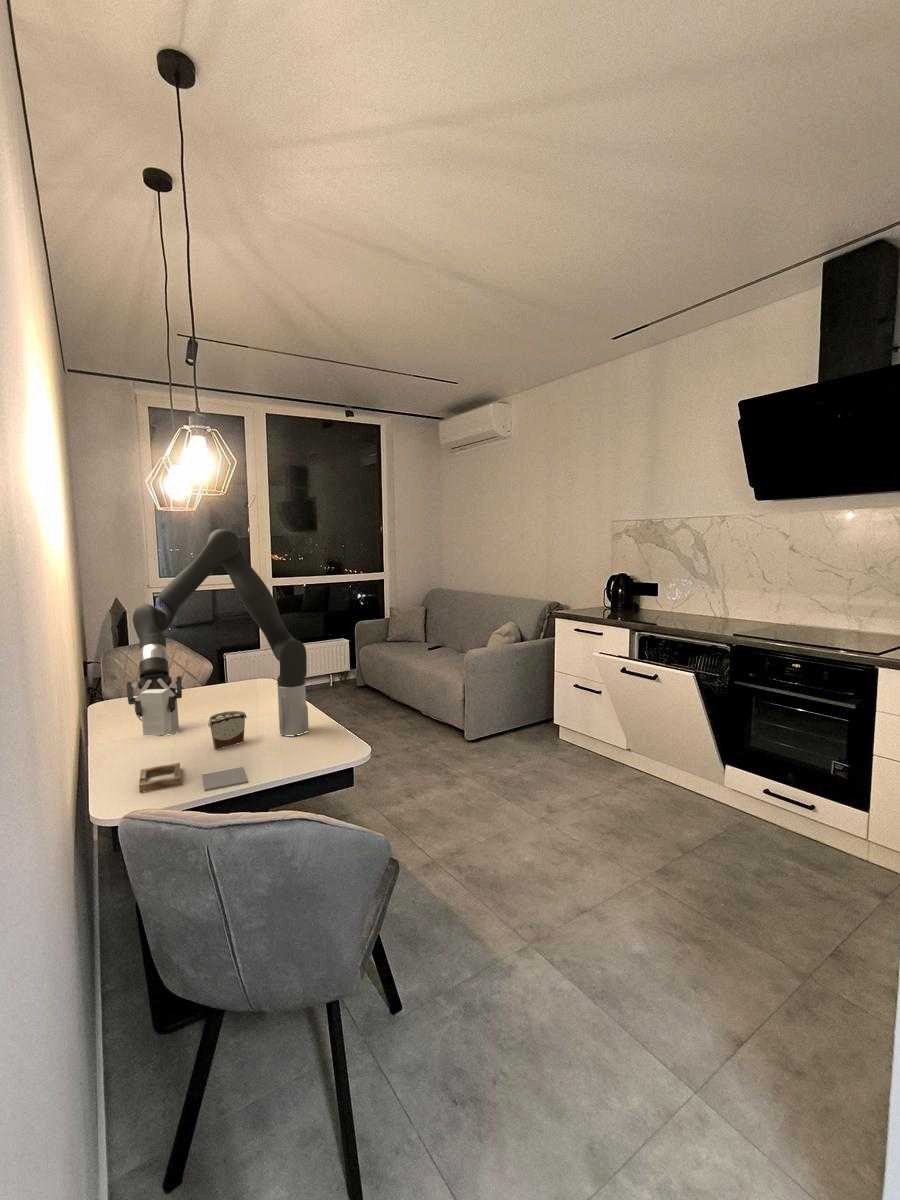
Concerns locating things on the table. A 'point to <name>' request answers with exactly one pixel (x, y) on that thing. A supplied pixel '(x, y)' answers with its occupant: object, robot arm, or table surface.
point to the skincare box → (155, 711)
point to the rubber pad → (224, 778)
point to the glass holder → (174, 717)
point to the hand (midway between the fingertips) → (156, 713)
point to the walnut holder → (162, 782)
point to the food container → (227, 728)
